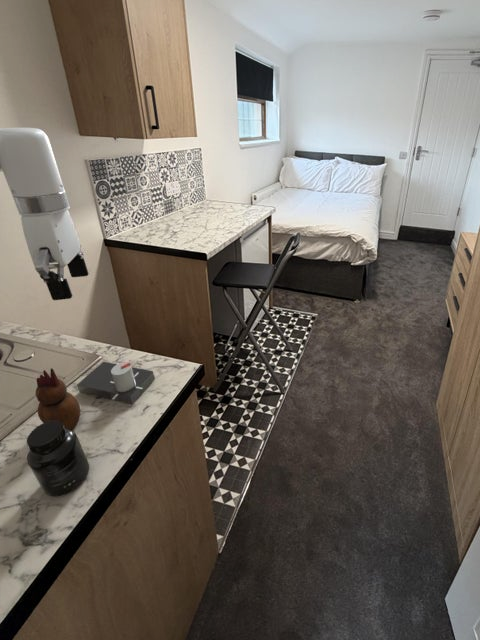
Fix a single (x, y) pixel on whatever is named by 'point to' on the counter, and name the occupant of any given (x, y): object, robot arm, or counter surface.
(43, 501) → the counter surface
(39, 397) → the wooden figurine
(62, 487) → the supplement bottle
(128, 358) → the counter surface
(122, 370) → the hob knob
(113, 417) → the counter surface
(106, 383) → the hob
